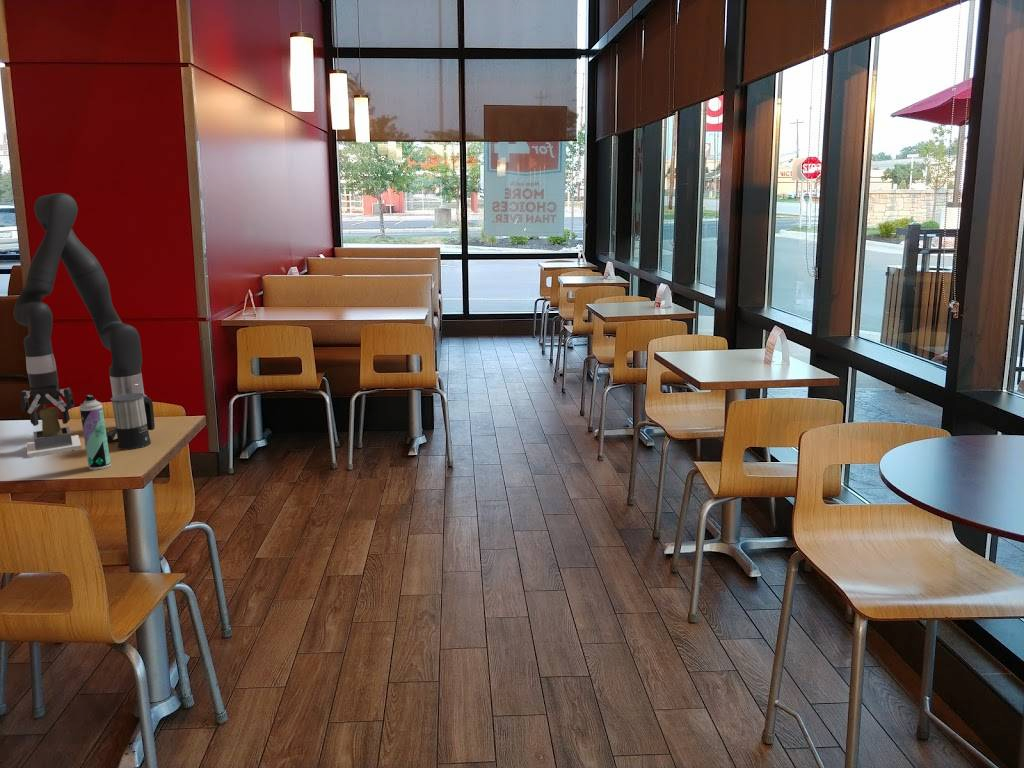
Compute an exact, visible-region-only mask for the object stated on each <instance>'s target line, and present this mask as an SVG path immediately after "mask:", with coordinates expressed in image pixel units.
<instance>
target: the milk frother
mask: <svg viewBox="0 0 1024 768" xmlns="http://www.w3.org/2000/svg"><path fill="white" fill-rule="evenodd" d="M144 395H145V393H144V394H141V393H130V394H123V395H119V396H115V397H113V396H112V397H111V398H110V401H111V403H112V404H111V405H112V410H113V417H114V422H115V428H113V429H111V430H109V431H106V435H107V442H108V444H117V448H118V449H119V448H120V449H121V450H132V449H133V450H135V449H140V448H144V447H146V446H149V445H151V443H152V440H151V439H150V433H149V431H153V430H155V424H156V423H155V413H154V404H153V401H152V399H151V398H150V397H149V396H147V397H146V396H144ZM115 437H117V438H115ZM120 449H119V450H120Z"/></svg>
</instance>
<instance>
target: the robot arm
mask: <svg viewBox="0 0 1024 768" xmlns="http://www.w3.org/2000/svg"><path fill="white" fill-rule="evenodd" d="M33 210H34V214H35V217H36V219H37V221H38V222H39V224H40V226H41V227H42V229H43V230H44V231H45V232H44V236H43V238H42V241H40V242H41V243H40V244H39V246H38V248H37V250H36V252H35V254H34V255H33V257H32V260H31V261H30V265H29V267H28V273H27V276H26V280H25V281H26V282H25V285H24V287H23V289H22V290H21V292H20V294H19V296H18V297H17V300H16V301H15V304H14V308H13V318H14V320H15V321H16V322H17V323H18V324H19V325H20V326H24V327H30V329H29V334H27V335H26V336H25V337H24V338H23V347H24V352H25V353H24V354H25V364H26V372H27V377H28V385H29V388H30V390H26V389H25V390H22V391H20V392H19V402H20V411H21V412H22V413H27V414H29V420H30V424H31V425H32V426H34V427H36V426H38V425H39V418H38V416H39V415H38V412H37V409H38V408H39V406H45V405H49V406H50V405H54V406H55V408H57V409H58V410H60V414H61V420H62V424H63V425H66V424H68V423H69V421H70V410H71V409H72V408H74V407H75V400H74V397H73V391H72V388H71V387H67V388H62V389H61V388H60V386H59V377H58V371H57V364H56V359H55V356H54V351H53V345H52V339H51V338H52V331H53V324H54V323H53V319H54V318H53V317H54V316H53V312H52V310H51V308H50V307H49V305H48V304H47V303H45V302H42V301H43V299H44V298H45V297H46V296H50V295H51V293H52V292H53V290H54V285H55V281H56V276H57V272H58V268H59V263H60V260H61V261H62V264H63V266H64V267H65V269H66V271H67V273H68V275H69V277H70V279H71V282H72V283H73V286H74V288H75V289H76V290H77V293H78V294H79V296H80V298H81V300H82V302H83V304H84V306H85V308H86V309H87V312H88V313H89V315H90V316H91V319H92V321H93V324H94V327H95V328H96V331H97V335H98V336H99V340H100V341H101V344H102V346H104V348H105V349H107V350H108V351H110V352H111V365H110V366H109V368H108V371H109V373H108V374H109V380H110V385H111V394H112V398H113V397H115V396H119V395H123V394H130V393H141V394H144V396H146V397H148V396H147V394H145V389H144V381H143V375H142V366H143V365H142V364H143V355H142V354H143V353H142V352H143V351H142V345H141V344H142V343H141V337H140V334H139V332H138V330H137V329H136V327H134V326H132V325H130V324H127V323H123V321H122V319H121V318H120V316H119V315H118V313H117V311H116V309H115V307H114V304H113V301H112V294H111V290H110V289H111V288H110V284H109V281H108V277H107V276H106V273H105V272H104V269H103V268H102V265H101V263H100V262H99V260H98V259H97V258H96V256H95V255H94V254H93V252H91V251H90V250H89V248H88V247H86V246H85V245H84V244H83V243H82V242H81V241H80V239H79V238H78V236H77V235H76V233H75V232H74V230H73V226H74V224H75V222H76V219H77V215H78V212H79V208H78V205H77V202H76V200H75V199H74V198H73V197H72V196H71V195H70V194H68V193H64V192H58V193H57V192H56V193H50V194H46V195H42V196H39V197H38V198H36V200H35V202H34V206H33ZM61 394H62V397H64V400H65V401H64V400H63V399H62V397H61ZM30 397H31V398H32V399H33V401H32V402H31V404H29V403H30V402H29V398H30Z"/></svg>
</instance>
